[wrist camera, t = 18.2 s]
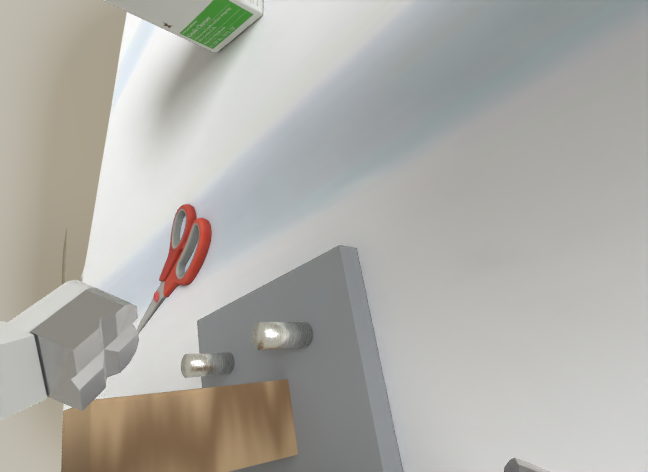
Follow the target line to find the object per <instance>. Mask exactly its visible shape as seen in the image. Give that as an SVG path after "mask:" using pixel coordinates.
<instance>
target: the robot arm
mask: <svg viewBox="0 0 648 472" xmlns="http://www.w3.org/2000/svg"><path fill="white" fill-rule="evenodd" d="M137 318H138V316H137V306H135V305H133V304H131V303H129V302H126V301H124V300H122V299H120V298H117V297H115V296H113V295H110V294H108V293H106V292H104V291H101V290H99V289H97V288H94V287H92V286H89V285H87V284H85V283H82V282H80V281H77V280H72V281H68V282H66V283H64V284H63V285H61V286H60V287H58V288H57V289H55V290H54V291H53V292H51V293H50V294H48V295H47V296H45V297H44V298H42V299H41V300H40V301H38V302H37V303H35V304H34V305H32V306H31V307H29V308H28V309H27V310H25V311H24V312H22V313H21V314H19V315H18V316H17V317H15V318H14V319H12V320H11V321H9V322H8V323H6V322H4V321H0V420H2V419H4V418H7V417H9V416H11V415H13V414H15V413H18V412H20V411H22V410H24V409H26V408H29V407H31V406H33V405H35V404H37V403H40V402H41V401H44V400H46V399H47V396H48V397H50V398H53V399H55V400H57V401H59V402H62V403H64V404H66V405H69V406H71V407H73V408H76V409H78V410H80V411H83V410H84V409H85V408H86V407H87V406H88V405H89V404H90V403H91V402H92V401H93V400H94V399H95V398H96V397H97V396H98V395H99V394H100V393H101V392H102V391H103V390H104V389H105V388H106V379H107V377H109V376H112V375H115V374H118V373H120V372H121V371H122V370H123V369H124V368H125V367H126V366H127V365H128V364H129V362H130V361H131V359H132V357H133V355H134V354H135V352H136V349H137V345H138V341H139V337H138V331H137V330H136V328H135V327H134V325H133V322H134V321H135V320H136V319H137ZM504 472H550V471H547V470H545V469H542V468H540V467H537V466H535V465H532V464H529V463H527V462H524V461H522V460H519V459H517V458H513V459H511V460H510V461H509V462H508V463H507V465H506V466H505V468H504Z"/></svg>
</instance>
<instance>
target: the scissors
mask: <svg viewBox="0 0 648 472" xmlns="http://www.w3.org/2000/svg"><path fill="white" fill-rule="evenodd" d="M185 215H186V224H185V229H184V233H183V235H182V238H181V240H180V230H181V225H182V221H183V218H184V216H185ZM198 239H199V240H198ZM210 241H211V226H210V223H209V221H208V220H206V219H204V218H198V219H196V212H195V209H194V207H193V206H191V205H189V204H185V205H182V206H181V207H180V208H179V209H178V210H177V213H176V215H175V218H174V222H173V227H172V232H171V242H170V249H169V254H168V258H167V260H166V263H165V265H164V268H163V271H162V273H161V276H160V279H159V281H162V282H161V284H160V286H159V288H158V289H157V291H156V292H155V293H154V298H153V300H152V302H151V304H150V306H149V307H148V309H147V311H146V313H145V315H144V317H143V319H142V320H141V322H140V324H139V326H138V329H137V331H138V333H139V332H140V331H141V330H142V328H143V327H144V326H145V324H146V323H147V322H148V320H149V319H150V317H151V316H152V315H153V313H154V312H155V311H156V309H157V308H158V307H159V306H160V304H161V303H162V302H163V301H164V299H165V298H166V297H169V295H170V294H171V293H172V292H173V290H174V289H175V288H176V287H177V286H178V285H180V284H181V285H188V284H190V283H191V282H192V281H193V280H194V278H195V277H196V275H197V274H198V272H199V270H200V268H201V267H202V264H203V262H204V260H205V257H206V255H207V252H208V249H209V245H210ZM197 242H198V244H197ZM196 244H197V248H196V251H195V253H194V256H193V259H192V261H191V263H190V265H189V267H188V269H187V271H186V272H185V266H186V264H187V262H188V260H189V259H190V257H191V255H192V253H193V251H194V249H195V246H196Z"/></svg>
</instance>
